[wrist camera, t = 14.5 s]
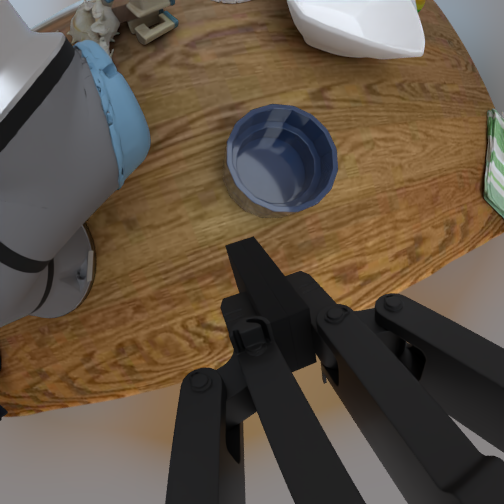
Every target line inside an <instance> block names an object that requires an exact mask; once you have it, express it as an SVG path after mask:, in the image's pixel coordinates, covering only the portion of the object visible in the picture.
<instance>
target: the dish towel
mask: <svg viewBox="0 0 504 504" xmlns="http://www.w3.org/2000/svg"><path fill="white" fill-rule="evenodd" d="M487 115H488V120H487V127H488V149H487V156H486V172H485V187H484V199H485V200H486V201H487V202H488V203H489V204H490V205H491V206H492V207H493V208H494V209H495V210H496V211H497V212H498V213H499V214H500V215H501V216H502V217H503V218H504V119H503V118H502V117H501V116H500V115H499V114H498V113H497V111H496V110H495V109H492V110H491V111H490V110H488V112H487Z"/></svg>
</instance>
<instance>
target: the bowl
mask: <svg viewBox="0 0 504 504" xmlns="http://www.w3.org/2000/svg"><path fill="white" fill-rule="evenodd" d="M287 3H288V7H289V10H290V13H291V16H292V19H293V21H294V24H295V26H296V27H297V29H298V30H299V32H300V33H301V34H302V35H303V38H304V40H305V42H306V43H307V44H308V45H310V46H312V47H315V48H317V49H320V50H323V51H326V52H329V53H332V54H336V55H340V56H346V57H356V58H363V57H369V58H376V59H395V58H407V57H420V56H422V55H423V53H424V46H425V38H424V32H423V28H422V25H421V22H420V19H419V16H418V13H417V11H416V9H415V7H414V5H413V3H412V1H411V0H287Z"/></svg>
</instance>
